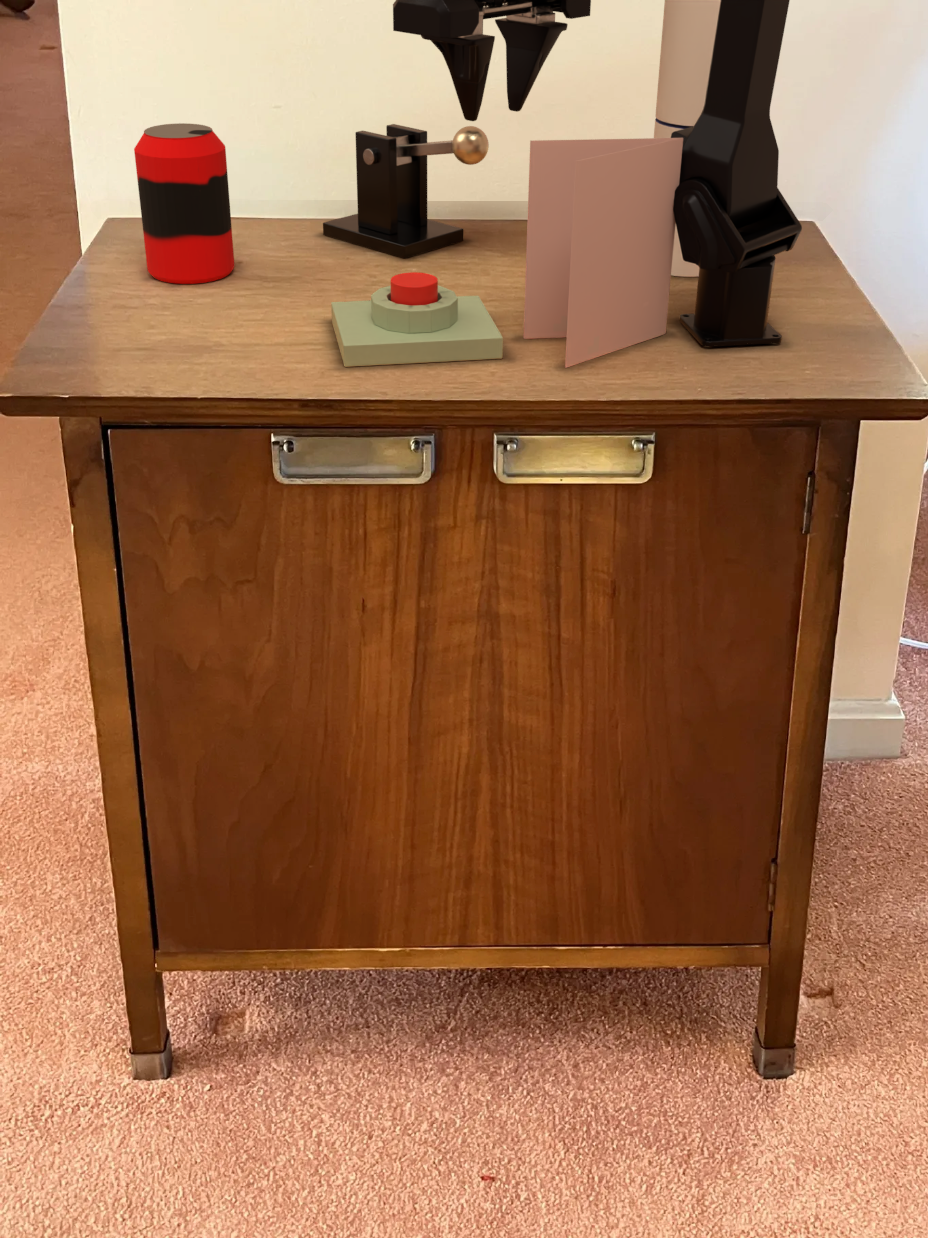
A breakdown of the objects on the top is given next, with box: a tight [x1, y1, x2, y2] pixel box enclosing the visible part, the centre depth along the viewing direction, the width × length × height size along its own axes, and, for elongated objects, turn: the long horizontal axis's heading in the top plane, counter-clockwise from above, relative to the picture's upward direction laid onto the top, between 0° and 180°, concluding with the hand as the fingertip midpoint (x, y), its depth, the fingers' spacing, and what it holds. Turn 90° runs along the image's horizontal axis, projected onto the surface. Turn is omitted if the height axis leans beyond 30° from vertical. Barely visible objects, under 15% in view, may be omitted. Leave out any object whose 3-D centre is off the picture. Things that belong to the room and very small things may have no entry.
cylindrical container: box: [653, 0, 721, 278], centre depth 118 cm, size 7×7×25 cm
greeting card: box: [523, 137, 683, 369], centre depth 101 cm, size 11×7×15 cm, turn 97°
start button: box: [390, 271, 439, 306], centre depth 104 cm, size 4×4×2 cm
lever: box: [394, 125, 490, 166], centre depth 123 cm, size 13×3×3 cm, turn 48°
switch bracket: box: [322, 123, 465, 260], centre depth 128 cm, size 11×8×10 cm
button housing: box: [330, 284, 504, 368], centre depth 106 cm, size 10×12×4 cm
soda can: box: [133, 122, 235, 285], centre depth 118 cm, size 8×8×12 cm
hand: (492, 115), depth 116 cm, fingers open, 5 cm apart
